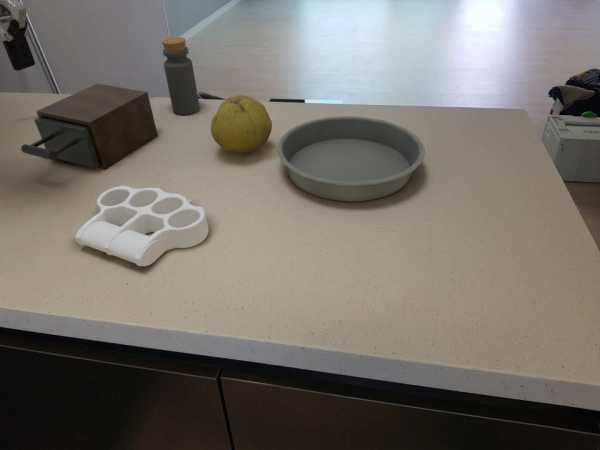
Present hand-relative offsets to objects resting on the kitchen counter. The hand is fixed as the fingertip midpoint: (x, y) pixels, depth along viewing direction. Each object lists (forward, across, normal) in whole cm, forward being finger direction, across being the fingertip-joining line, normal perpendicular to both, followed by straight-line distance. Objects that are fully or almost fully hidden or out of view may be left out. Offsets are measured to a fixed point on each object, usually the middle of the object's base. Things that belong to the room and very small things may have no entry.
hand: (1, 63), depth 66 cm
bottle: (+20, +4, +34) cm, 40 cm away
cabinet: (+20, 0, +14) cm, 24 cm away
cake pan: (+20, +46, +23) cm, 55 cm away
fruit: (+20, +26, +22) cm, 39 cm away
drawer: (+19, 0, +9) cm, 21 cm away
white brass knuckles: (+20, +25, -5) cm, 33 cm away
